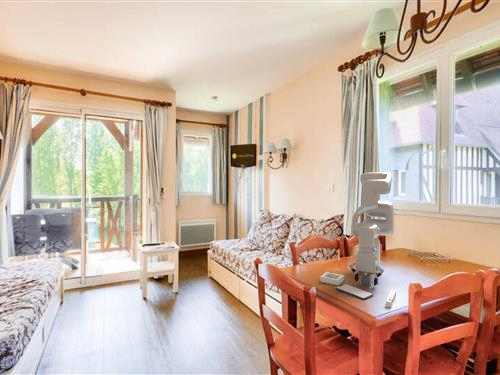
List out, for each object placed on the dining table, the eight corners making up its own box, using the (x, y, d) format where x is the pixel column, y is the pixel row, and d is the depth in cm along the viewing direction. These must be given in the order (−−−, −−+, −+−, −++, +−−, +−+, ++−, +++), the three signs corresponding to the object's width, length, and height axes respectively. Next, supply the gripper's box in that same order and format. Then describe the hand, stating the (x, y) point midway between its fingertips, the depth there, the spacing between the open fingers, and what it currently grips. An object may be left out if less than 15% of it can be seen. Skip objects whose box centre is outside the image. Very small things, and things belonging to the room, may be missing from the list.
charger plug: (362, 283, 146) (362, 270, 146) (371, 285, 144) (371, 271, 144) (360, 286, 143) (360, 272, 143) (369, 288, 140) (369, 273, 140)
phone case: (374, 297, 130) (345, 286, 143) (374, 294, 130) (345, 283, 143) (363, 302, 125) (334, 290, 138) (363, 298, 125) (334, 287, 138)
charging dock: (391, 294, 132) (391, 288, 132) (396, 295, 131) (396, 289, 131) (385, 306, 119) (385, 300, 119) (391, 307, 118) (391, 301, 118)
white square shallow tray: (326, 277, 156) (326, 271, 156) (344, 280, 151) (344, 275, 151) (319, 282, 148) (319, 276, 148) (338, 286, 142) (338, 280, 142)
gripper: (386, 250, 141) (385, 284, 141) (351, 246, 151) (350, 278, 151) (383, 253, 135) (383, 289, 135) (347, 249, 145) (346, 281, 145)
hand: (366, 283), depth 143 cm, fingers open, 8 cm apart
